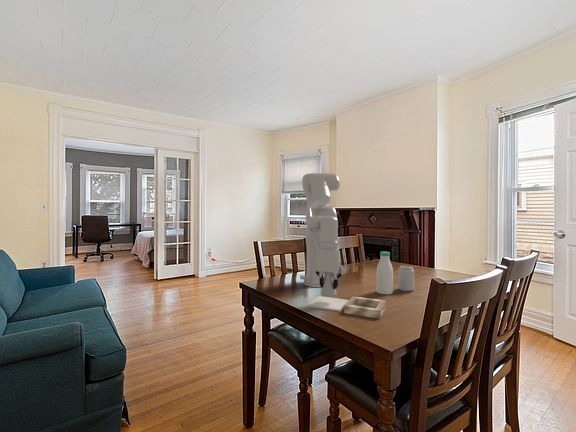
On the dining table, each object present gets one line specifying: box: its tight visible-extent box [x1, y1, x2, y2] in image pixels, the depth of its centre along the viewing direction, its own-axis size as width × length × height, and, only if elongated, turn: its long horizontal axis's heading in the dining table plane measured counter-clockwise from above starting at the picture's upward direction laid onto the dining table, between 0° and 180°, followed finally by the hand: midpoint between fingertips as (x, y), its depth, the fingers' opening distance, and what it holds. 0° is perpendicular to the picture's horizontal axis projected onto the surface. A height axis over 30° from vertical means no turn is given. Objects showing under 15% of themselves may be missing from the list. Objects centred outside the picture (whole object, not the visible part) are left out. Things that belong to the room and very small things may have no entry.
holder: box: [343, 296, 387, 320], centre depth 126 cm, size 14×14×3 cm
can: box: [397, 265, 415, 292], centre depth 156 cm, size 8×8×12 cm
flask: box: [320, 272, 338, 297], centre depth 133 cm, size 7×7×10 cm
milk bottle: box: [375, 251, 394, 295], centre depth 151 cm, size 8×8×20 cm
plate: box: [307, 295, 350, 312], centre depth 134 cm, size 14×14×1 cm
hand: (328, 287), depth 133 cm, fingers closed on flask, 5 cm apart
